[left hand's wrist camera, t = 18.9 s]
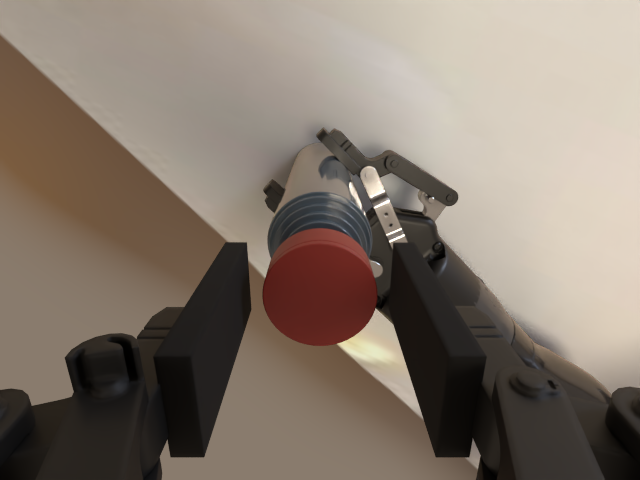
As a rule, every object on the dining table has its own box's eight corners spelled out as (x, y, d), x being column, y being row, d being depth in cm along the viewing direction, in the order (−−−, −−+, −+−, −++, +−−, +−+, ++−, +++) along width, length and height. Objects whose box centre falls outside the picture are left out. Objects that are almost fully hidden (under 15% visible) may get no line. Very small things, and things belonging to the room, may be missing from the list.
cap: (247, 267, 14) (238, 288, 13) (329, 206, 14) (331, 220, 12) (311, 338, 15) (310, 364, 14) (391, 284, 15) (400, 306, 13)
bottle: (306, 203, 36) (286, 362, 15) (284, 155, 35) (227, 254, 13) (354, 183, 35) (406, 319, 14) (334, 133, 34) (358, 201, 13)
